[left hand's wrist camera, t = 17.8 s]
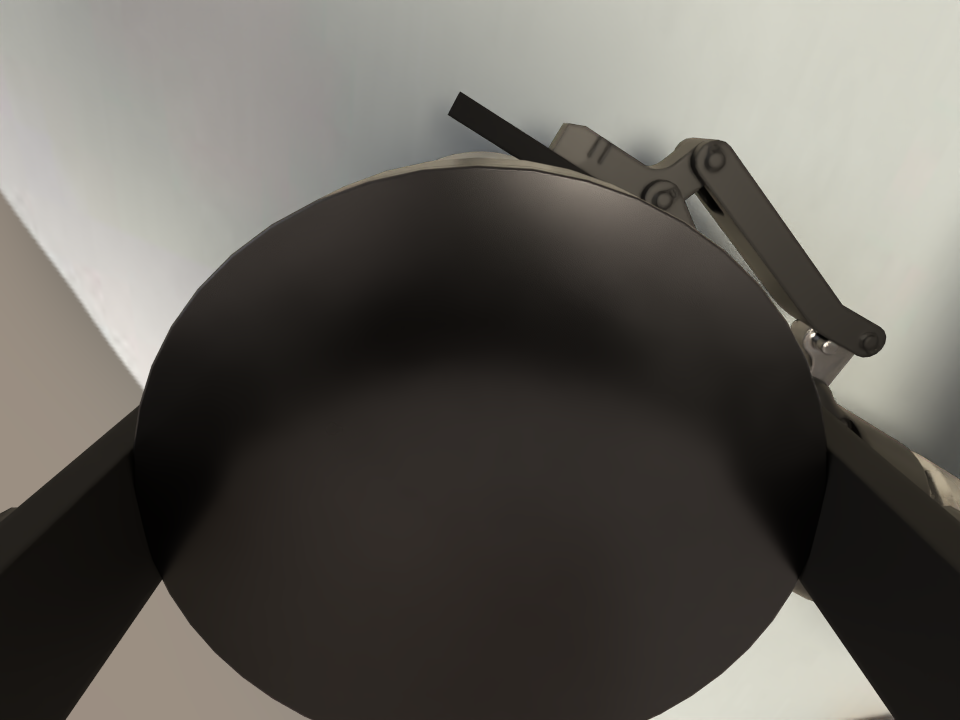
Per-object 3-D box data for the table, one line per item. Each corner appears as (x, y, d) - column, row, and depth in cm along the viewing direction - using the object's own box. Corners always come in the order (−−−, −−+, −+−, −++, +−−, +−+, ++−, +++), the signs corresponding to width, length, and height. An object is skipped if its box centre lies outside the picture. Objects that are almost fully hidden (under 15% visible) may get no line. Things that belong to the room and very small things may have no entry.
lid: (354, 735, 15) (337, 815, 13) (57, 316, 11) (-22, 353, 9) (830, 587, 13) (882, 658, 12) (682, 32, 9) (728, 13, 8)
